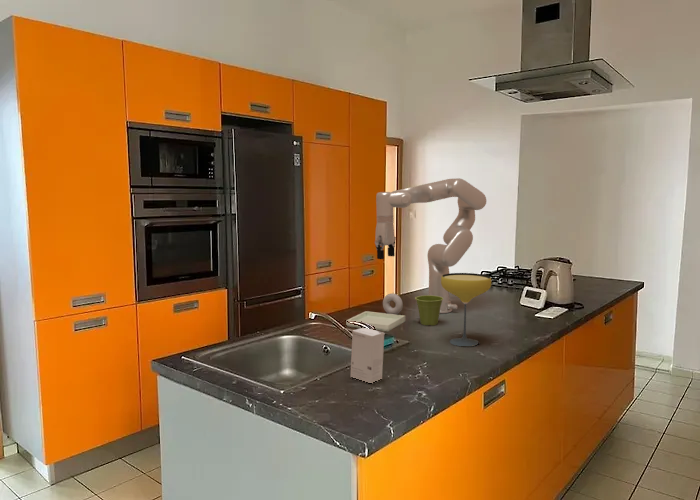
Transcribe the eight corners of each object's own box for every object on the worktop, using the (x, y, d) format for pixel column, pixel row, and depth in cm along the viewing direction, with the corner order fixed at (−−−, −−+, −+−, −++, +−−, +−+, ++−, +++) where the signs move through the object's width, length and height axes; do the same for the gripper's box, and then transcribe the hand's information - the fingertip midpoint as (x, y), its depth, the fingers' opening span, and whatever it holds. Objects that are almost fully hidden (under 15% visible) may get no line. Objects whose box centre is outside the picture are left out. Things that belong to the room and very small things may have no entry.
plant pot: (419, 319, 232) (420, 294, 231) (446, 322, 227) (446, 296, 225) (410, 325, 221) (411, 299, 220) (438, 328, 216) (438, 301, 215)
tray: (405, 321, 228) (405, 315, 228) (388, 331, 211) (388, 325, 211) (365, 316, 237) (365, 311, 237) (346, 326, 220) (346, 320, 220)
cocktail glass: (481, 352, 184) (483, 282, 181) (432, 345, 192) (434, 278, 190) (494, 340, 199) (496, 275, 196) (448, 333, 208) (450, 271, 205)
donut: (404, 315, 239) (404, 293, 238) (400, 317, 236) (400, 295, 235) (384, 312, 244) (385, 291, 243) (381, 314, 241) (381, 292, 240)
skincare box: (350, 378, 158) (350, 330, 157) (362, 373, 163) (362, 326, 161) (372, 385, 153) (372, 335, 151) (384, 379, 158) (384, 331, 156)
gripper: (387, 218, 244) (388, 254, 246) (367, 221, 230) (369, 259, 232) (401, 218, 240) (402, 255, 242) (382, 221, 226) (383, 260, 228)
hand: (386, 257), depth 237 cm, fingers open, 9 cm apart
